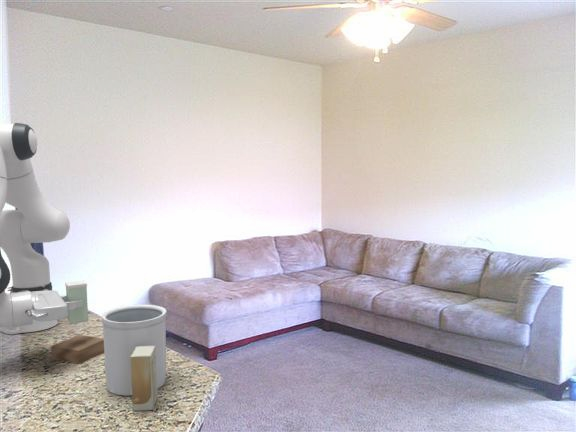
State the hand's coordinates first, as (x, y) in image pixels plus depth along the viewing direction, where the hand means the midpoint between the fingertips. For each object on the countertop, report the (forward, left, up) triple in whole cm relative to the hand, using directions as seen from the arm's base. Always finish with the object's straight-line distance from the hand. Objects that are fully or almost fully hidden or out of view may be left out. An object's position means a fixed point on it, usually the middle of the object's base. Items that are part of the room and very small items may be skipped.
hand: (80, 300), depth 140 cm
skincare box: (+36, -18, -16) cm, 43 cm away
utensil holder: (+27, -10, -16) cm, 33 cm away
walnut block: (-1, -1, -16) cm, 16 cm away
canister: (-1, -1, -5) cm, 6 cm away
